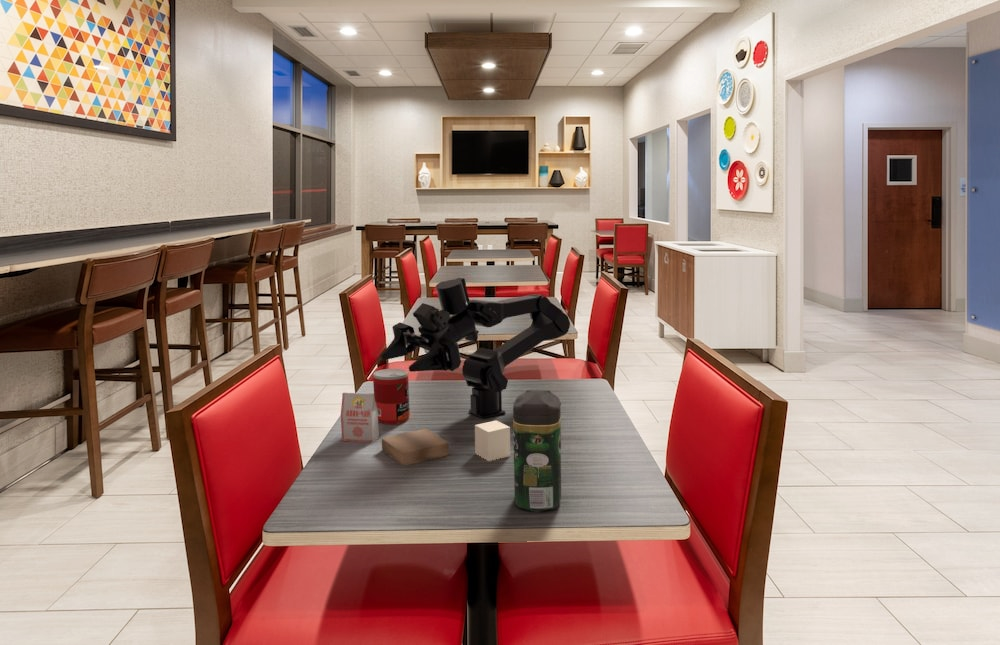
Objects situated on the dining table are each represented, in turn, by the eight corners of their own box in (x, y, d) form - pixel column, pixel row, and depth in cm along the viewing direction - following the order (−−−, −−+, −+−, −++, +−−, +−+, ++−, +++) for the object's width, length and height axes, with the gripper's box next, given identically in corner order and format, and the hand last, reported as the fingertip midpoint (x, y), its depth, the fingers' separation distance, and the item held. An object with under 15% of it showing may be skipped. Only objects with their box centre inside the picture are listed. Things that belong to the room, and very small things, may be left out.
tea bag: (348, 435, 152) (346, 390, 150) (378, 436, 151) (376, 391, 149) (342, 440, 148) (339, 395, 146) (372, 442, 147) (370, 396, 145)
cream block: (496, 448, 143) (496, 420, 142) (510, 456, 139) (510, 427, 137) (475, 453, 140) (474, 425, 139) (488, 461, 136) (488, 432, 135)
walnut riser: (426, 442, 148) (426, 428, 147) (449, 456, 140) (449, 442, 139) (382, 452, 143) (381, 438, 142) (403, 468, 134) (402, 453, 134)
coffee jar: (516, 488, 124) (515, 385, 120) (562, 489, 123) (562, 386, 119) (511, 512, 114) (509, 402, 111) (560, 514, 113) (560, 403, 110)
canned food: (403, 425, 158) (401, 377, 156) (369, 423, 159) (367, 376, 157) (414, 414, 165) (412, 369, 163) (382, 413, 167) (379, 367, 164)
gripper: (415, 290, 157) (359, 318, 147) (474, 307, 144) (416, 340, 135) (425, 333, 162) (371, 364, 152) (482, 354, 149) (427, 388, 140)
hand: (395, 363), depth 145 cm, fingers open, 9 cm apart
